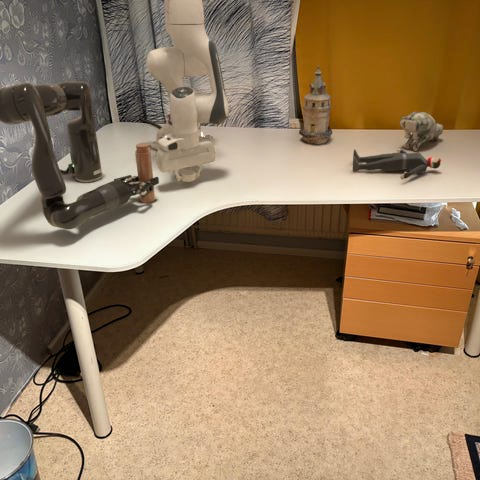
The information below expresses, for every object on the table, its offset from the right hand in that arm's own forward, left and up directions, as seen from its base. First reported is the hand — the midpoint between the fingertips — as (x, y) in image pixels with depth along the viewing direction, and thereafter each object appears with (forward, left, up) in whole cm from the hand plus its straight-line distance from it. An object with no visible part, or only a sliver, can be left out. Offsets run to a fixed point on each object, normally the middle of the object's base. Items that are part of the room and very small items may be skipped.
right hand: (188, 178), depth 182 cm
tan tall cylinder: (-3, -17, -2) cm, 17 cm away
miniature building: (+15, +64, -2) cm, 65 cm away
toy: (+54, +50, -2) cm, 74 cm away
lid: (0, 0, +2) cm, 2 cm away
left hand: (-3, -14, +4) cm, 15 cm away
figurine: (+53, +80, -2) cm, 96 cm away
